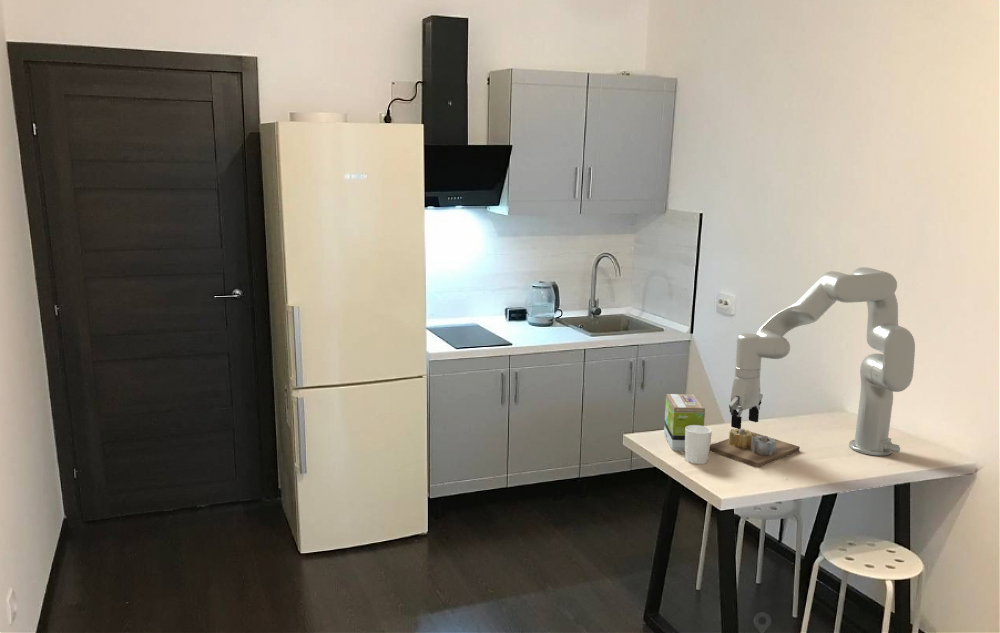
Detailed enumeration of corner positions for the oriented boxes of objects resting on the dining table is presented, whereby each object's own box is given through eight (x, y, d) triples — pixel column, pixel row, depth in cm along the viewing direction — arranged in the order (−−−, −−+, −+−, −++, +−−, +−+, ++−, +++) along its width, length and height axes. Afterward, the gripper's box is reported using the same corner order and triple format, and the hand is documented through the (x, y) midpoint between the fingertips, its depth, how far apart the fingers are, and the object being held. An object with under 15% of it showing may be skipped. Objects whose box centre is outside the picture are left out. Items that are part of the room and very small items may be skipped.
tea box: (662, 434, 254) (665, 392, 251) (692, 435, 254) (695, 393, 251) (671, 450, 239) (674, 406, 236) (703, 452, 239) (706, 407, 236)
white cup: (695, 466, 227) (697, 434, 225) (677, 457, 233) (679, 426, 232) (714, 462, 230) (717, 431, 228) (697, 453, 237) (699, 423, 235)
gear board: (799, 451, 242) (801, 431, 241) (757, 467, 227) (759, 447, 226) (749, 435, 255) (751, 417, 254) (707, 450, 240) (708, 430, 239)
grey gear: (777, 450, 238) (778, 438, 237) (773, 457, 231) (774, 445, 230) (752, 445, 241) (754, 433, 240) (748, 452, 235) (749, 440, 234)
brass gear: (757, 445, 242) (758, 433, 241) (744, 450, 237) (745, 438, 236) (737, 438, 247) (738, 427, 247) (724, 443, 243) (725, 431, 242)
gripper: (752, 366, 246) (749, 416, 249) (721, 375, 235) (718, 427, 238) (773, 370, 240) (770, 421, 244) (742, 380, 230) (739, 433, 233)
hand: (744, 424), depth 241 cm, fingers open, 9 cm apart
